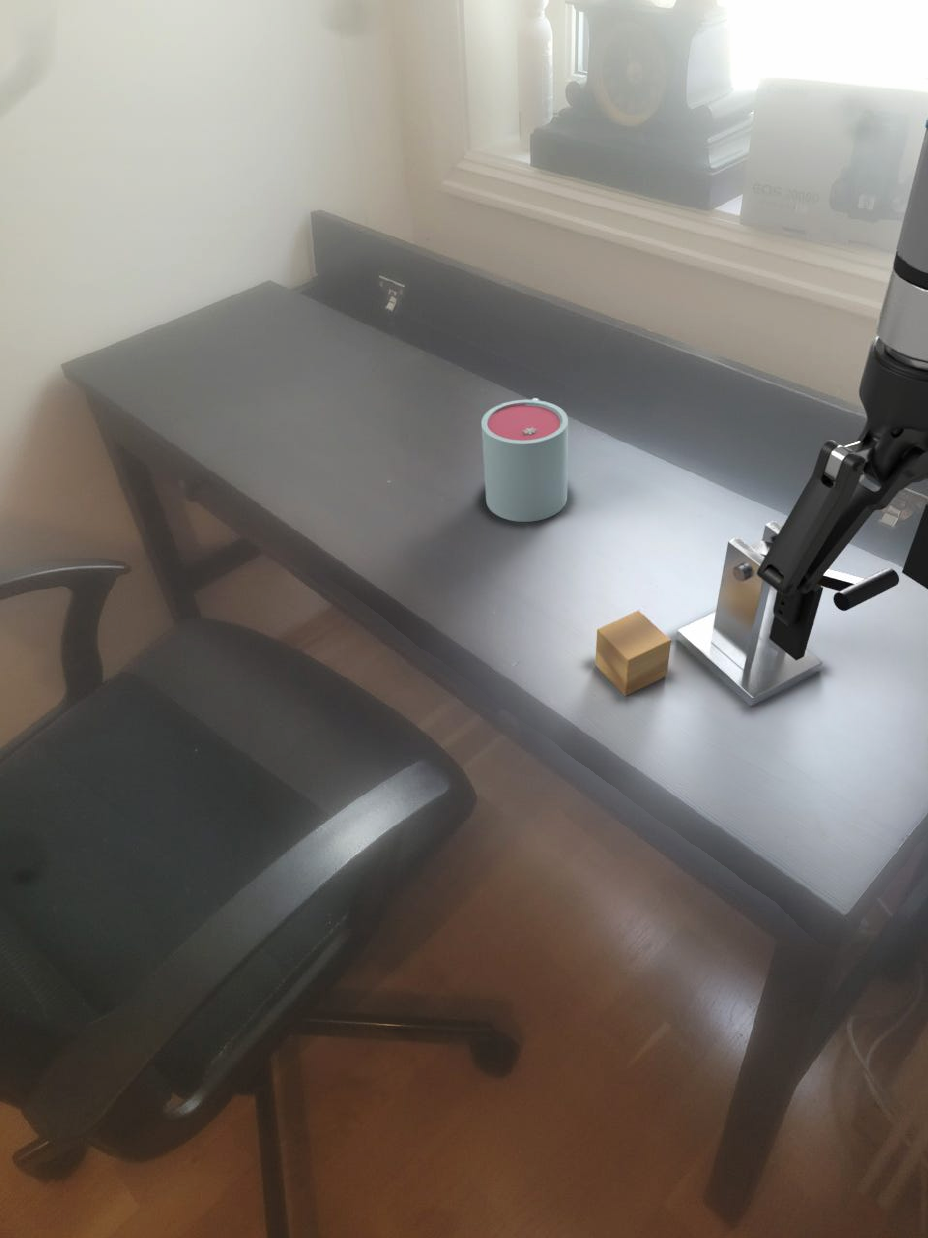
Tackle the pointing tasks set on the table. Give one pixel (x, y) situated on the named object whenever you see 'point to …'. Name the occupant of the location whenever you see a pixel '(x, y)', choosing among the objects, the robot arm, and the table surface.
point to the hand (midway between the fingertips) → (854, 613)
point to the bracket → (746, 630)
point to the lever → (848, 583)
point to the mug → (525, 459)
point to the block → (632, 652)
